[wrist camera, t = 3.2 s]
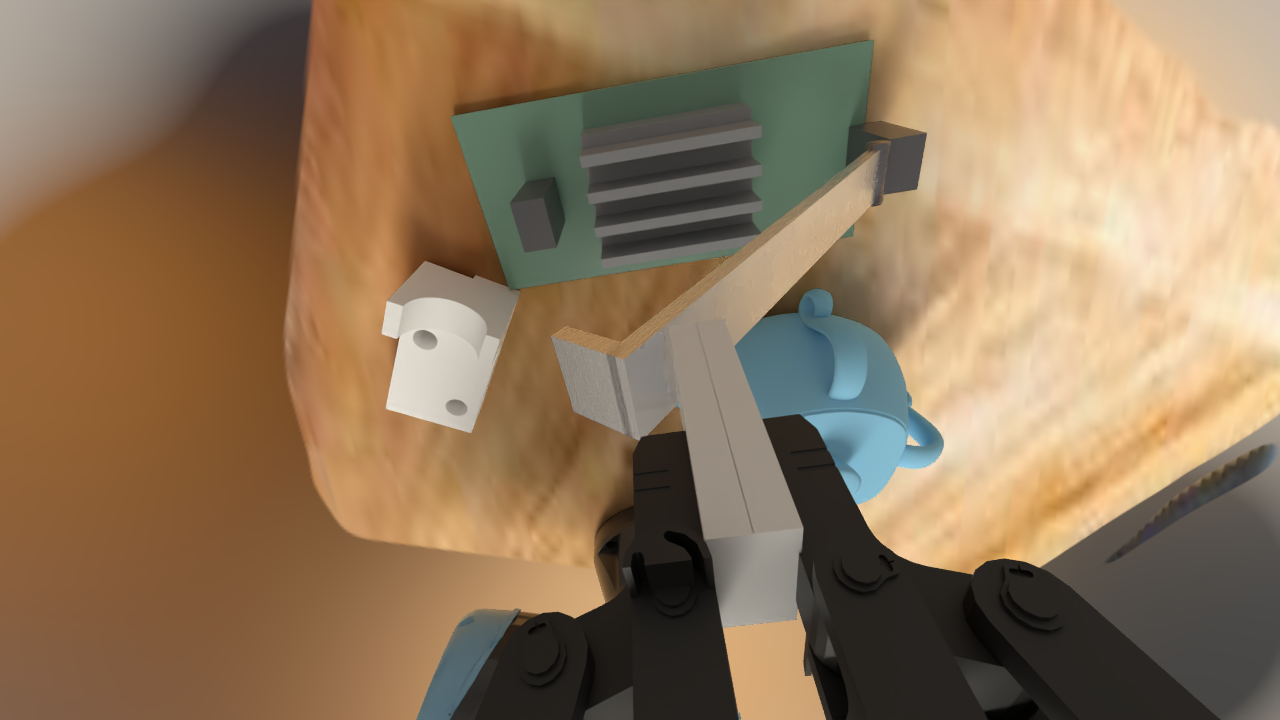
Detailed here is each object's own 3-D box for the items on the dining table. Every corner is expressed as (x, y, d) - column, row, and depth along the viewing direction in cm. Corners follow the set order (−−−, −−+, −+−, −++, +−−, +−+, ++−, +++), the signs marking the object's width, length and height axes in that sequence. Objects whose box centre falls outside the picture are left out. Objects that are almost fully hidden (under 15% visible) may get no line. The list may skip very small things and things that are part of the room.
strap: (831, 198, 28) (884, 200, 26) (575, 416, 15) (650, 450, 13) (836, 141, 26) (893, 139, 25) (548, 329, 13) (631, 355, 11)
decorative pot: (742, 460, 48) (779, 586, 37) (653, 357, 40) (666, 477, 29) (895, 383, 43) (993, 502, 32) (826, 250, 35) (923, 344, 24)
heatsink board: (861, 230, 34) (904, 261, 29) (511, 285, 36) (493, 324, 31) (884, 37, 28) (944, 33, 23) (454, 115, 29) (418, 128, 24)
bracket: (429, 256, 35) (387, 300, 28) (521, 290, 37) (500, 339, 30) (402, 383, 41) (362, 442, 35) (481, 407, 43) (457, 467, 37)
